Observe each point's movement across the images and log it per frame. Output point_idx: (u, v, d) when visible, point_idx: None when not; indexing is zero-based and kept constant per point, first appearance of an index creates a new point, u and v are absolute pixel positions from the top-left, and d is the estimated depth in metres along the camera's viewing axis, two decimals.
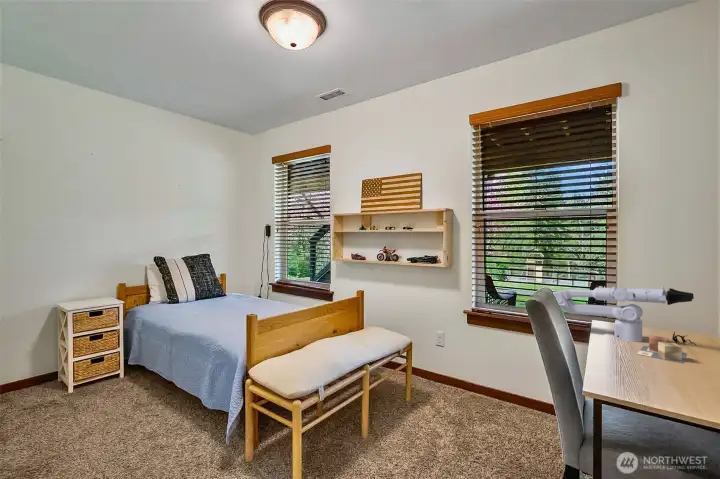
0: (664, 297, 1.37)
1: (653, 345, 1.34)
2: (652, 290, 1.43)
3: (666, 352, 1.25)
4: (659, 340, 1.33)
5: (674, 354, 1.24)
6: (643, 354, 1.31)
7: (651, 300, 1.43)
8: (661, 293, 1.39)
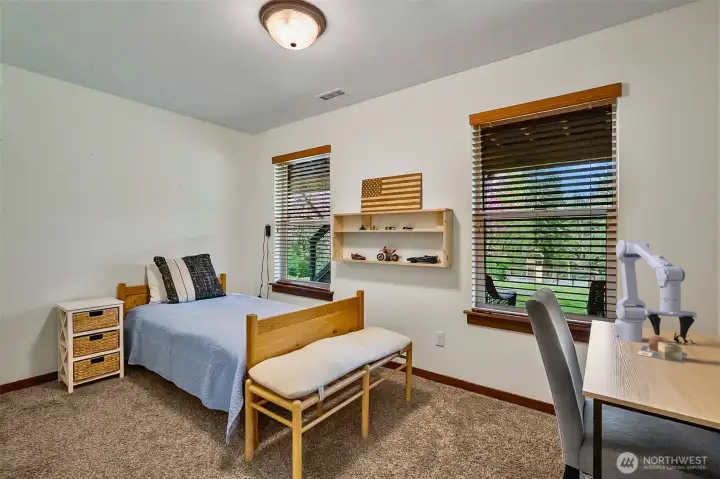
0: (646, 313, 1.29)
1: (653, 345, 1.34)
2: (668, 304, 1.25)
3: (666, 352, 1.25)
4: (659, 340, 1.33)
5: (674, 354, 1.24)
6: (643, 354, 1.31)
7: None
8: (656, 311, 1.27)
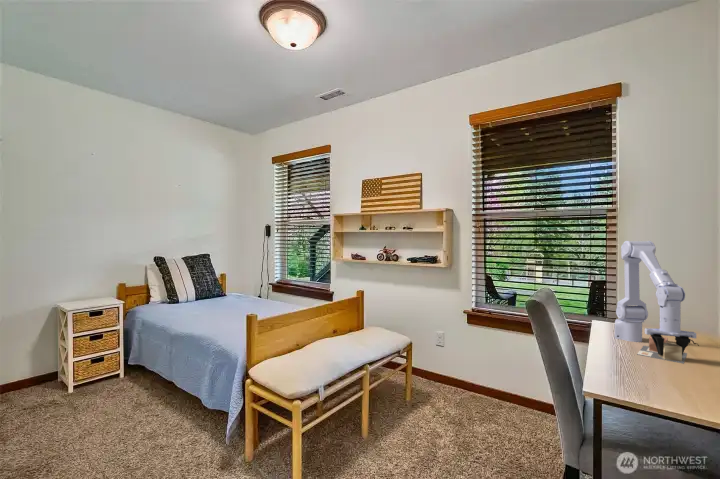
0: (646, 332, 1.29)
1: (653, 345, 1.34)
2: (667, 324, 1.25)
3: (666, 352, 1.25)
4: None
5: (674, 354, 1.24)
6: (643, 354, 1.31)
7: None
8: (656, 331, 1.27)
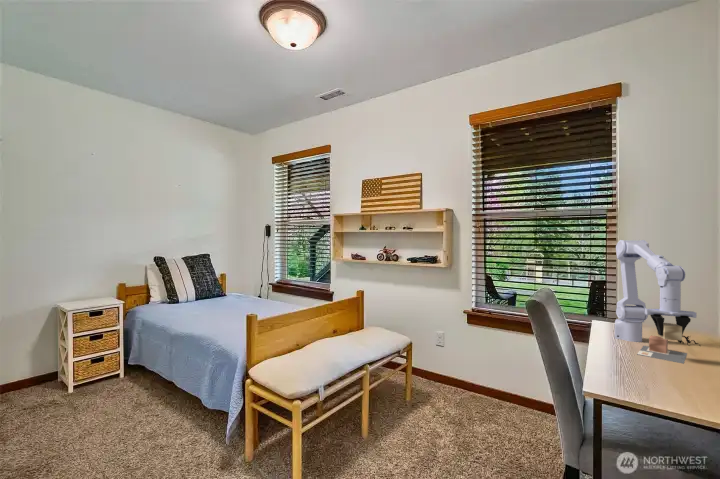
0: (646, 313, 1.29)
1: (653, 345, 1.34)
2: (668, 304, 1.25)
3: (666, 332, 1.25)
4: (659, 340, 1.33)
5: (674, 334, 1.24)
6: (643, 354, 1.31)
7: None
8: (656, 311, 1.27)
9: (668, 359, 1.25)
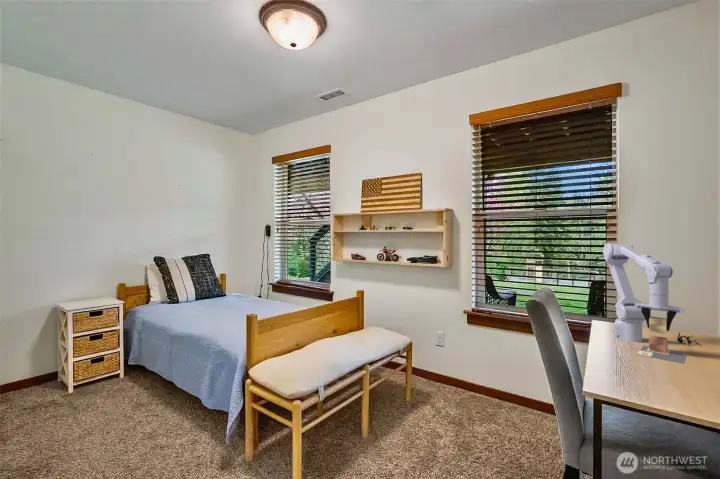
0: (635, 306, 1.40)
1: (653, 345, 1.34)
2: (652, 298, 1.34)
3: (650, 324, 1.35)
4: (659, 340, 1.33)
5: (658, 327, 1.33)
6: (643, 354, 1.31)
7: None
8: (642, 305, 1.37)
9: (668, 359, 1.25)
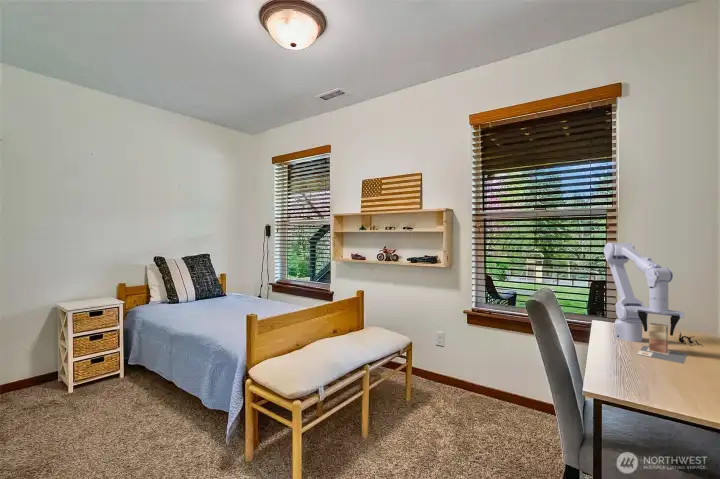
0: (635, 310, 1.40)
1: (653, 345, 1.34)
2: (652, 303, 1.34)
3: (650, 331, 1.35)
4: (659, 340, 1.33)
5: (658, 333, 1.33)
6: (643, 354, 1.31)
7: None
8: (642, 309, 1.37)
9: (668, 359, 1.25)
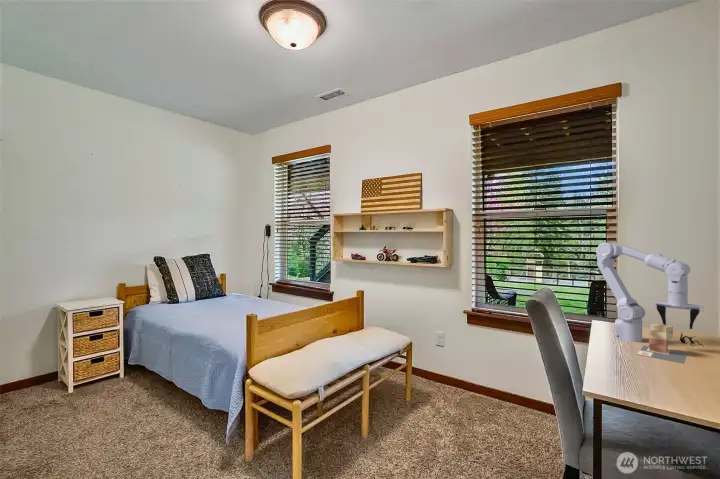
0: None
1: (653, 345, 1.34)
2: (671, 296, 1.36)
3: (651, 330, 1.35)
4: (659, 340, 1.33)
5: (659, 333, 1.33)
6: (643, 354, 1.31)
7: None
8: (661, 303, 1.38)
9: (668, 359, 1.25)
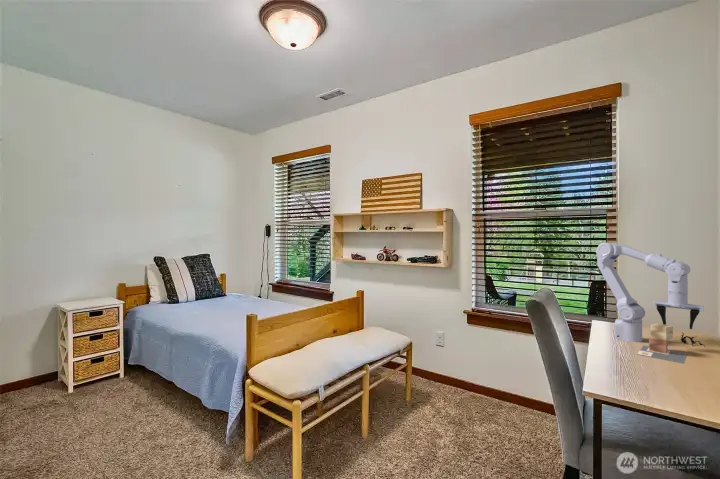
0: None
1: (653, 345, 1.34)
2: (671, 296, 1.36)
3: (651, 330, 1.35)
4: (659, 340, 1.33)
5: (659, 333, 1.33)
6: (643, 354, 1.31)
7: None
8: (661, 303, 1.38)
9: (668, 359, 1.25)
